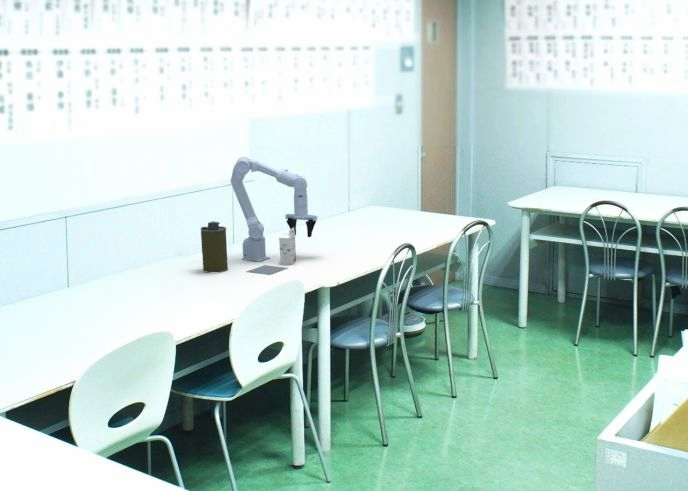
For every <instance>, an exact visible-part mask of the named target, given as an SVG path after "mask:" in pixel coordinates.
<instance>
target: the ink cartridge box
mask: <svg viewBox="0 0 688 491" xmlns="http://www.w3.org/2000/svg"><path fill="white" fill-rule="evenodd" d="M292 231H293V232H292ZM291 232H292V233H291ZM278 240H279V241H278V242H279V259H280V261H279V262H280V263H279V264H280V265H281V266H290V265H293V264H294V263H295V262H296V260H297V255H296V252H297V249H296V235H295V231H294V227H293V228H292V229H290V228H289V230H288V233H284V234H282V235H281V236H279V237H278Z"/></svg>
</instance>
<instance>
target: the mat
mask: <svg viewBox="0 0 688 491" xmlns="http://www.w3.org/2000/svg"><path fill="white" fill-rule="evenodd" d="M287 269H289V267H285V266H274V265H269V264H268V265H267V264H264V265H262V266H258V267H255V268H252V269H250V270H246V271H245V272H246V273H251V274H259V275H266V276H268V275H269V276H271V275H273V274H277V273H279V272H282V271H285V270H287Z"/></svg>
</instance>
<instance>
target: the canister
mask: <svg viewBox="0 0 688 491" xmlns="http://www.w3.org/2000/svg"><path fill="white" fill-rule="evenodd" d="M226 231H227V227H225V226H220V222H219V221H209V222H208V223H207V226H202V227H200V240H201V241H200V242H201V254H202V271H203V270H204V271H207V272H206V273H209V272H218V273H222V272H227V271H228V270H229V266H228V251H227V250H228V249H227V232H226ZM204 271H203V272H204Z"/></svg>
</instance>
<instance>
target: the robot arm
mask: <svg viewBox="0 0 688 491" xmlns="http://www.w3.org/2000/svg"><path fill="white" fill-rule="evenodd" d="M249 172H250V173H254V172H260V173H263V174H265V175H268V176H270V177H273V178H275V180H276V182H277V183H280V184H282V185H285V186H287V187H290V188H293V190H294V191H293V192H294V193H293V211H294V212H293V213H286V214H285V215H284V217H285V220H286V224H287V225H288V227H289V230H290V229H292V228H293V227H294V231H295V236H297V221H298V220H302V221H305V225H306V230H307V231H306V232H307V237H308V238H311V237H312V235H313V232H314V231H313V230H314V229H315V228H314V227H315V225H316V223H317V221H318V216H317V215H314V214H312V215H311V214H309V213H308V212H309V210H308V209H309V207H308V194H307V193H308V191H307V187H308V181H307V180H306V178H305V177H303V176H302V175H299V174H297V173H296V174H295V173H293V172H291V171H289V169H287V168H285V169H280V170H278V169H277V168H276V169H275V168H274V167H271V166H269V165H267V164H265V163H263V162H260V161H258V160H255V159H253V158H250V159H249V158H248V157H246V156H242V157H239V158H238V159H237V161H236V162H235V164H234V165H233V168H232V173H231V178H230V184H231V187H232V189H233V191H234V194H235V197H236V199H237V201H238V203H239V207H240V208H241V212H242V213H243V216H244V218H245V220H246V221H245V222H246V224H247V228H248V236H249V237H247V238H245V239H244V240H243V242H242V258H241V260H244V261H250V262H251V261H253V262H262V261H265V260H268V259H270V258H271V257H270V256H267V253H266V252H267V251H266V237H265V236H264V231H265V227H264V225H263V224H262V223H261V221H260V220H259V218H258V216H257V214H256V212H255V209H254V208H253V207H254V206H253V205H252V202H251V200H250V197H249V194H248V192H247V190H246V188H245V184H244V182H243V181H244V179H245V176H246V175H247V174H248V173H249ZM292 232H293V231H292ZM292 232H291V233H292Z"/></svg>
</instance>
